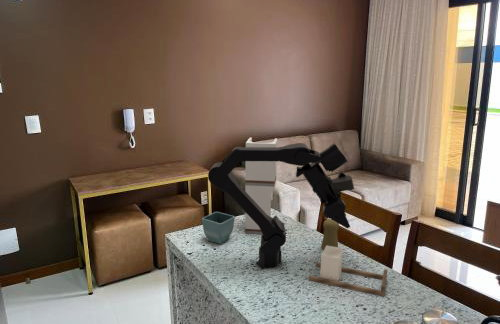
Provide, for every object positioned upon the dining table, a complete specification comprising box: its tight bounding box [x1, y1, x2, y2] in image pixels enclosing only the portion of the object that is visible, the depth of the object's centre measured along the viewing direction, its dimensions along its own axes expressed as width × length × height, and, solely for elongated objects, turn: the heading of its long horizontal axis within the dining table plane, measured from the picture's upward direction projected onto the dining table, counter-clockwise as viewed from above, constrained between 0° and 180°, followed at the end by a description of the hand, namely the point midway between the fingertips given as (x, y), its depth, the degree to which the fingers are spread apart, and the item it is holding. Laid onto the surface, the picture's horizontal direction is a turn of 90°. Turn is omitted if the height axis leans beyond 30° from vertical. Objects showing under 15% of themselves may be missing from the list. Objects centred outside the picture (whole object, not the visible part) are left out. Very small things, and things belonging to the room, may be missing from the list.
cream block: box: [319, 245, 344, 281], centre depth 116 cm, size 5×7×8 cm
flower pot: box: [201, 211, 236, 245], centre depth 142 cm, size 9×9×9 cm
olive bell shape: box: [320, 218, 340, 251], centre depth 134 cm, size 6×6×11 cm
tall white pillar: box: [244, 137, 278, 236], centre depth 149 cm, size 11×11×35 cm
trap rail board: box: [308, 261, 388, 297], centre depth 115 cm, size 21×16×4 cm
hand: (346, 221), depth 119 cm, fingers open, 9 cm apart
